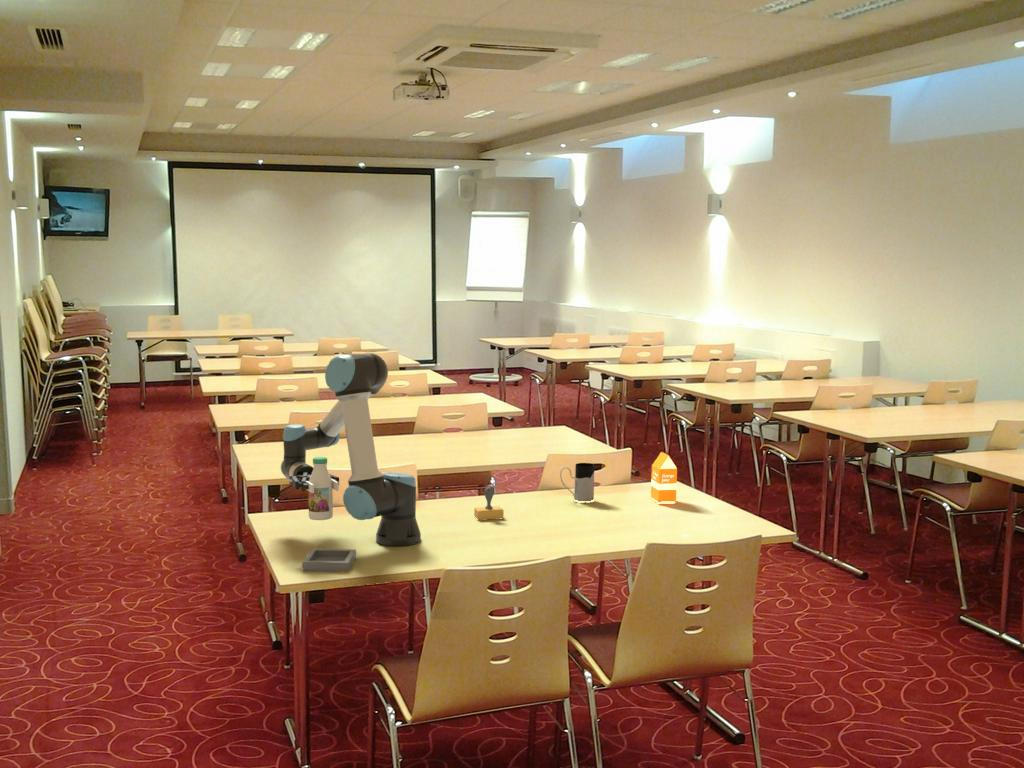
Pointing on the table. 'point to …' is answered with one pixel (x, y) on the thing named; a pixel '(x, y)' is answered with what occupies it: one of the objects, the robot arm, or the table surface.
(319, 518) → the milk bottle
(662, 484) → the orange juice
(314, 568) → the tray
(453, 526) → the table surface
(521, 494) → the table surface
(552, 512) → the table surface
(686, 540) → the table surface
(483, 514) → the rubber stamp
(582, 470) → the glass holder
